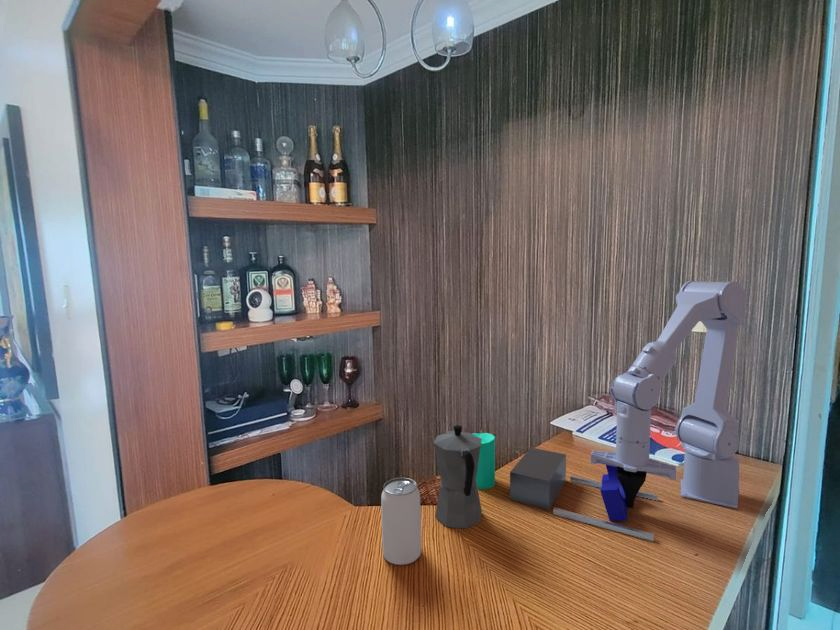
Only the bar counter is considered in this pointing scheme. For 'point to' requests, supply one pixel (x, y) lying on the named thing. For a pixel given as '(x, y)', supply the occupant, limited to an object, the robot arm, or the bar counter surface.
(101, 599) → the bar counter surface
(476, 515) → the coffeepot
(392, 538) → the can
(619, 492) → the cable clip
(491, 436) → the candle
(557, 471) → the grey block with bars
